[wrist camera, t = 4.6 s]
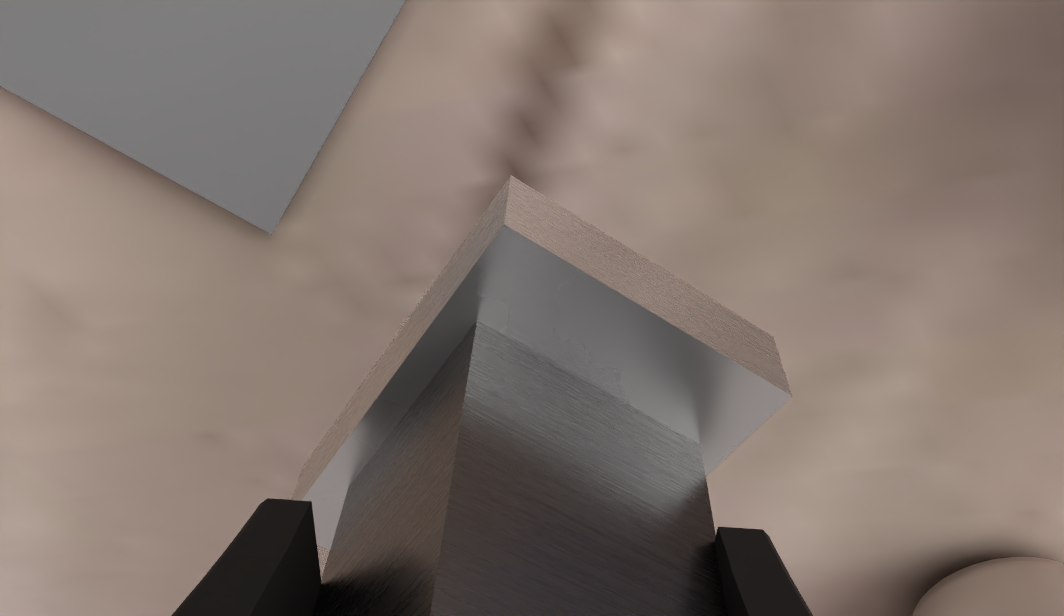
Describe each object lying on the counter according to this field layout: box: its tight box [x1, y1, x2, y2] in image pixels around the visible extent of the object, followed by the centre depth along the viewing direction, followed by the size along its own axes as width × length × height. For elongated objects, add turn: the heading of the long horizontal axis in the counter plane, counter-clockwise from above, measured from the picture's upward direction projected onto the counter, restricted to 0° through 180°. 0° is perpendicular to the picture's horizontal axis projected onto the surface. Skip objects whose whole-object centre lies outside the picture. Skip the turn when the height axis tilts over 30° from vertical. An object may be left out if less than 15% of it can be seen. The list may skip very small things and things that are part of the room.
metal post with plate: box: [291, 176, 792, 616], centre depth 12 cm, size 5×7×8 cm
